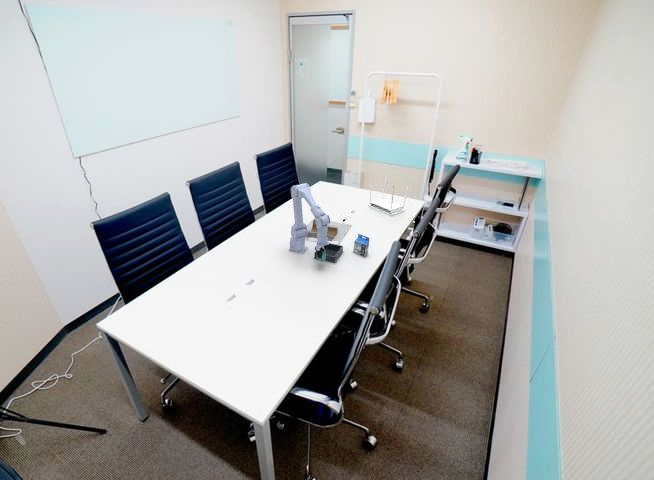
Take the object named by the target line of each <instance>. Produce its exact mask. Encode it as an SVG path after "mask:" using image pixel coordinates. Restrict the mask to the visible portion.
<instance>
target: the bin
mask: <svg viewBox="0 0 654 480" xmlns="http://www.w3.org/2000/svg"><path fill="white" fill-rule="evenodd" d="M343 252H344V245H341V244H335V243H331V242H329V244H328V246H327V248H326V260H325V261H324V262H329V263H333V264H335V263H337V261H338V259H340V258H339V257H340V256H341V255H342V253H343ZM313 257H314V260H315V259H316V260H317V252H316V251H314V256H313Z"/></svg>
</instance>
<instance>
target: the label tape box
mask: <svg viewBox="0 0 654 480" xmlns="http://www.w3.org/2000/svg"><path fill="white" fill-rule="evenodd" d="M369 246H370V237H368V236H366V235H363V234H361V233H357V237H356V238H355V240H354V242H353V250H352V251H353V254H356V255H358V256H362V257H364V258H365V257H367V256H368V253H369Z"/></svg>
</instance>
